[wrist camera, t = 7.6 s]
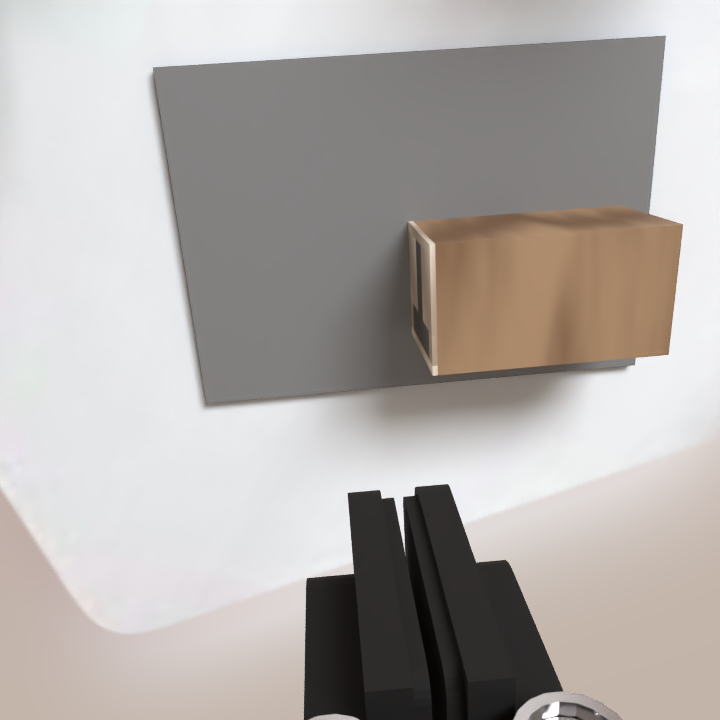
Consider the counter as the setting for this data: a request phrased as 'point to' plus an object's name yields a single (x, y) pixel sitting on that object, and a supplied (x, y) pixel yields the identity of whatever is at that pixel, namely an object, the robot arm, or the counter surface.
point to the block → (542, 288)
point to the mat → (380, 191)
